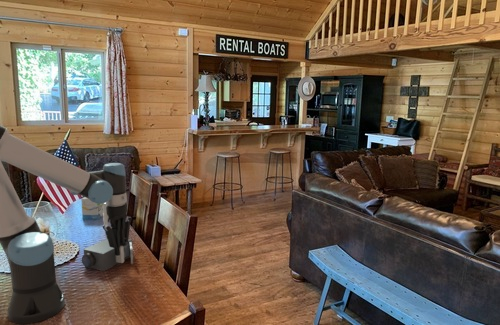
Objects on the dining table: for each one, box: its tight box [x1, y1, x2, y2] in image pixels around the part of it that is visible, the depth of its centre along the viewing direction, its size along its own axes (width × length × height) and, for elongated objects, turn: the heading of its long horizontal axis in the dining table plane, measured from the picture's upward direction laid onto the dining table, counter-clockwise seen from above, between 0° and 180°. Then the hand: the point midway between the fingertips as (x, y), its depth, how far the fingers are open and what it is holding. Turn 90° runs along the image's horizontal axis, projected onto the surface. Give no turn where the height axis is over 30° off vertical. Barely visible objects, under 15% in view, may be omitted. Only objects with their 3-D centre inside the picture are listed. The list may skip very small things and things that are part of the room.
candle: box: [102, 203, 108, 226], centre depth 180 cm, size 7×7×15 cm
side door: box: [129, 240, 134, 265], centre depth 148 cm, size 9×1×6 cm, turn 21°
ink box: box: [80, 197, 103, 220], centre depth 201 cm, size 8×8×12 cm
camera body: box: [81, 238, 134, 272], centre depth 147 cm, size 18×10×8 cm, turn 156°
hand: (120, 261), depth 143 cm, fingers closed
